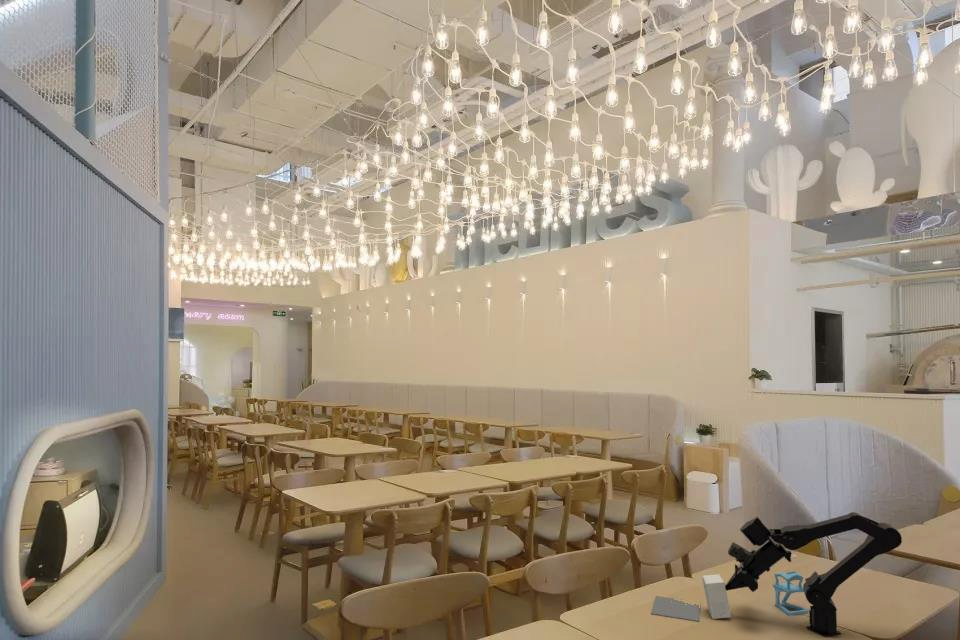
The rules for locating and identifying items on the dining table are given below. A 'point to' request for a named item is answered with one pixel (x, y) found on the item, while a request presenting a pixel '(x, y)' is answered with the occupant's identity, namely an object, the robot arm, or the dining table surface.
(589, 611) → the dining table surface
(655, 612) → the mat
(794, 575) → the chair
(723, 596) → the small box
